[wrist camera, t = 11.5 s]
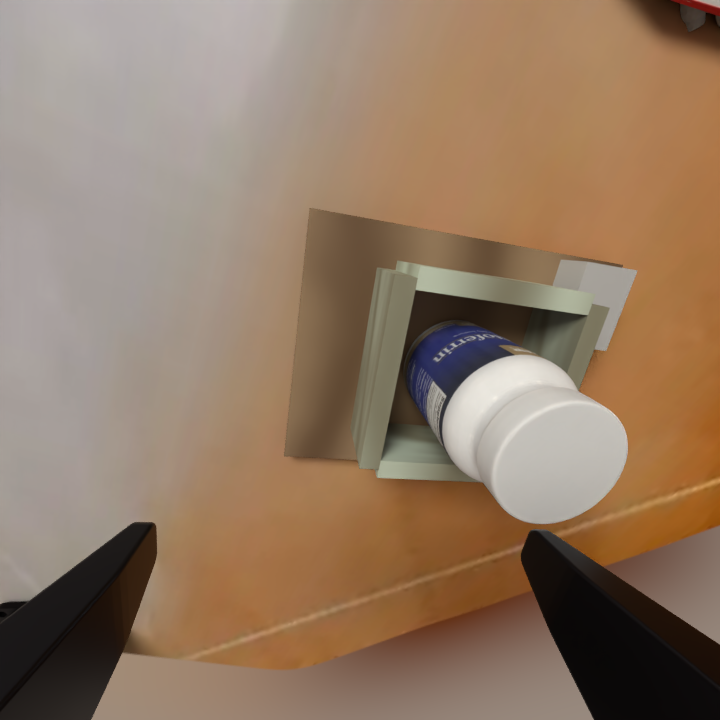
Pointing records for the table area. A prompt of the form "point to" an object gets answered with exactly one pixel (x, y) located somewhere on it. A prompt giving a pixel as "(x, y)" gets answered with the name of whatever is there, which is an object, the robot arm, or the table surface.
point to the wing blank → (598, 289)
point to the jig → (412, 332)
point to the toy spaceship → (698, 12)
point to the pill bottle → (514, 422)
